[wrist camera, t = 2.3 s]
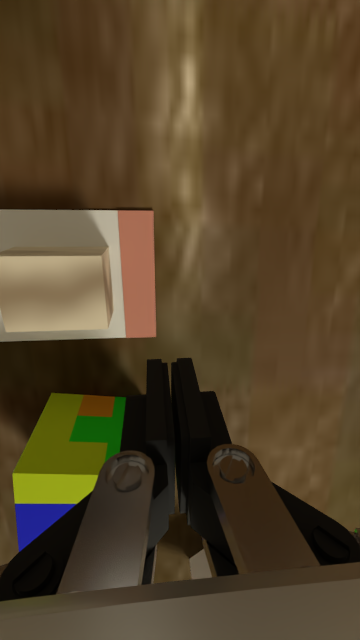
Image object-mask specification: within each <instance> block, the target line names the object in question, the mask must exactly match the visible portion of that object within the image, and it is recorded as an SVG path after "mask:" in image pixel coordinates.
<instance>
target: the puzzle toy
mask: <svg viewBox="0 0 360 640" xmlns="http://www.w3.org/2000/svg"><path fill="white" fill-rule="evenodd" d="M125 402H126V397H111V396H95V395H78V394H61V393H51V395H50V397H49V400H48V402H47V404H46V406H45V408H44V410H43V412H42V414H41V416H40V418H39V420H38V422H37V424H36V426H35V428H34V430H33V432H32V434H31V436H30V438H29V441H28V443H27V445H26V447H25V449H24V451H23V453H22V455H21V457H20V459H19V461H18V463H17V465H16V467H15V469H14V471H13V473H12V474H13V486H14V498H15V510H16V522H17V533H18V545H19V552H20V551H21V550H22V549H23V548H25V547H26V546H27V545H28V544H29V543H31V542H32V541H33V540H34V539H35V538H37V537H38V536H39V535H40V534H41V533H43V532H44V531H45V530H46V529H47V528H49V527H50V526H51V525H52V524H53V523H55V522H56V521H57V520H58V519H59V518H60V517H62V516H63V515H64V514H65V513H66V512H68V511H69V510H70V509H71V508H72V507H74V506H75V505H76V504H77V503H78V502H80V501H81V500H82V499H83V498H84V497H86V496H87V495H88V494H89V493H90V492H92V491H93V489H94V486H95V483H96V480H97V478H98V475H99V472H100V470H101V468H102V466H103V464H104V463H105V462H106V461H107V460H108V459H109V458H110V457H112V456H113V455H115V454H117V453H120V444H121V436H122V428H123V419H124V411H125Z"/></svg>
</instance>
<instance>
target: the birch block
mask: <svg viewBox="0 0 360 640" xmlns="http://www.w3.org/2000/svg"><path fill="white" fill-rule="evenodd" d="M0 310H1V314H2V318H3V322H4V326H5V330H6V332H29V331H62V330H94V329H108V328H109V324H110V321H111V318H112V314H113V311H114V305H113V292H112V280H111V268H110V255H109V246H97V247H12V248H10V249H7V250H4V251H1V252H0Z"/></svg>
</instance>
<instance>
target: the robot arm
mask: <svg viewBox="0 0 360 640" xmlns="http://www.w3.org/2000/svg"><path fill="white" fill-rule="evenodd" d="M175 468H176V478H177V489H178V500H179V510H180V513H186V515H187V523H188V525H191V528H193V529H194V530H195V531H196V532H197V533H198V534H200V535H201V536H202V542H203V547H204V551H205V554H206V558H207V561H208V565H209V568H210V571H211V575H212V577H211V578H202V579H192V580H183V581H174V582H165V583H156V584H153V580H154V571H155V563H156V554H157V543H158V542H159V540H160V539H161V538H162V537H163V535H164V534H165V533H166V532H167V531H168V529H169V514H174V511H175ZM0 640H360V528H356V529H355V531H354V532H352V531H348V530H347V529H346V528H345V527H343V526H342V525H341V524H339V523H338V522H336V521H335V520H333V519H332V518H330V517H328V516H327V515H325V514H323V513H322V512H320V511H318V510H317V509H315V508H314V507H312V506H310V505H309V504H307V503H305V502H304V501H302V500H300V499H299V498H297V497H296V496H294V495H292V494H291V493H289V492H287V491H286V490H284V489H282V488H281V487H279V486H277V485H276V484H274V483H273V482H271V481H270V479H269V478H268V476H267V474H266V472H265V471H264V469H263V467H262V466H261V464H260V462H259V461H258V459H257V458H256V457H255V455H254V454H253V453H252V452H250V451H249V450H248V449H246V448H244V447H242V446H239V445H235V444H232V442H231V439H230V436H229V433H228V430H227V427H226V424H225V421H224V418H223V415H222V412H221V409H220V406H219V403H218V400H217V397H216V394H215V392H214V391H207V392H200V390H199V386H198V382H197V378H196V374H195V370H194V366H193V362H192V359H191V358H177V362H172V363H171V395H170V386H169V376H168V366H167V363H162V361H161V359H148V360H147V391H146V395H127V396H126V402H125V411H124V419H123V428H122V436H121V444H120V453H117V454H115V455H113V456H112V457H110V458H109V459H108V460H107V461H106V462H105V463H104V464H103V466H102V468H101V470H100V472H99V475H98V478H97V480H96V483H95V486H94V489H93V491H92V492H90V493H89V494H88V495H87V496H86V497H84V498H83V499H82V500H81V501H80V502H78V503H77V504H76V505H75V506H74V507H72V508H71V509H70V510H69V511H68V512H66V513H65V514H64V515H63V516H62V517H60V518H59V519H58V520H57V521H56V522H55V523H53V524H52V525H51V526H50V527H49V528H47V529H46V530H45V531H44V532H43V533H41V534H40V535H39V536H38V537H37V538H35V539H34V540H33V541H32V542H31V543H29V544H28V545H27V546H26V547H25V548H23V549H22V550H21V551H20V552H19V553H18V554H17V555H16V556H15V557H14V558H13V559H12V560H11V561H10V562H9V563H8V564H5V565H2V566H0Z"/></svg>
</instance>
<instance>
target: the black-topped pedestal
mask: <svg viewBox="0 0 360 640" xmlns="http://www.w3.org/2000/svg"><path fill="white" fill-rule="evenodd" d="M189 560H190V568H191V577H192V579H202V578H211V577H212V575H211V571H210V568H209V565H208V561H207V558H206V554H205V551H204V549H203V550H201V551H200V552H198V553H197V554H196V555H194V556H193V557H191V558H190V559H189Z"/></svg>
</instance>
